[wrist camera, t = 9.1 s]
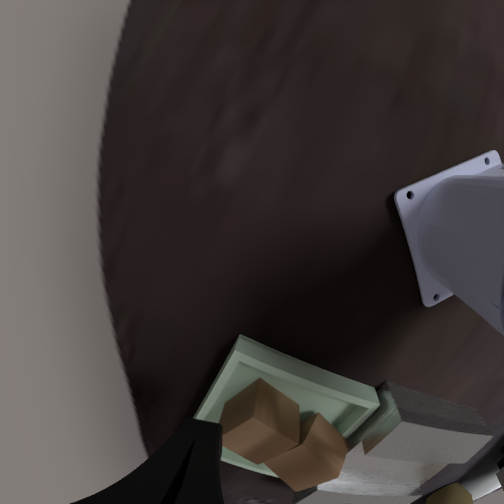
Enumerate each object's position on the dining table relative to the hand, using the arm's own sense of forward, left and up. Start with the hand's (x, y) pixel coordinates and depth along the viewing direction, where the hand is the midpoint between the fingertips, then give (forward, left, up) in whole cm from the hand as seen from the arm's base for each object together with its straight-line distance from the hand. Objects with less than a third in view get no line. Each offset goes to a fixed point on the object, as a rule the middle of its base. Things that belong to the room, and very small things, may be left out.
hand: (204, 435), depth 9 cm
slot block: (-7, +19, -9) cm, 22 cm away
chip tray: (+1, +9, -9) cm, 13 cm away
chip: (-1, +11, -8) cm, 14 cm away
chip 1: (+1, +9, -7) cm, 11 cm away
